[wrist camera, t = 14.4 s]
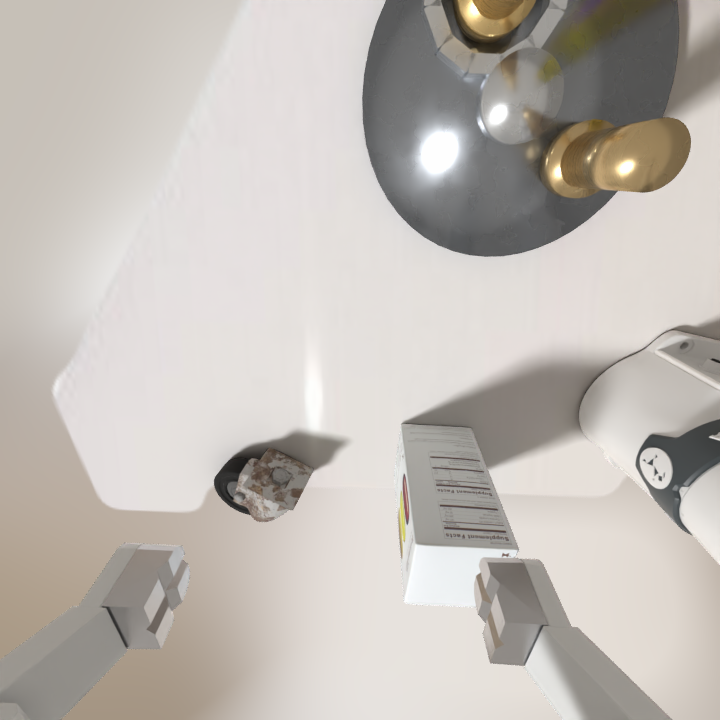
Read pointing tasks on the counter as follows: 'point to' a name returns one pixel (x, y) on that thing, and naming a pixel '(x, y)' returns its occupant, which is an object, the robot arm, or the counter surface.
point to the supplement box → (446, 515)
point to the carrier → (520, 118)
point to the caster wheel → (262, 484)
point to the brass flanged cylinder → (490, 17)
